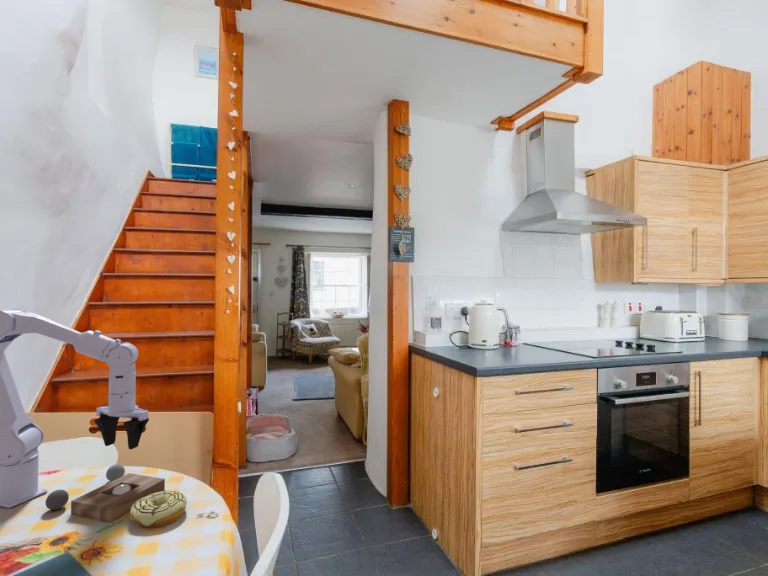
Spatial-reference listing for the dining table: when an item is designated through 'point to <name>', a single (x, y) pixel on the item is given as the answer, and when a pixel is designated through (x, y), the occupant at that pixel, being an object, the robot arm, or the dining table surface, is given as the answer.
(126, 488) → the steel ball
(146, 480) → the hole plate
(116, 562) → the dining table surface
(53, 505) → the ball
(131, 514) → the decorated donut
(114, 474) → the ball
